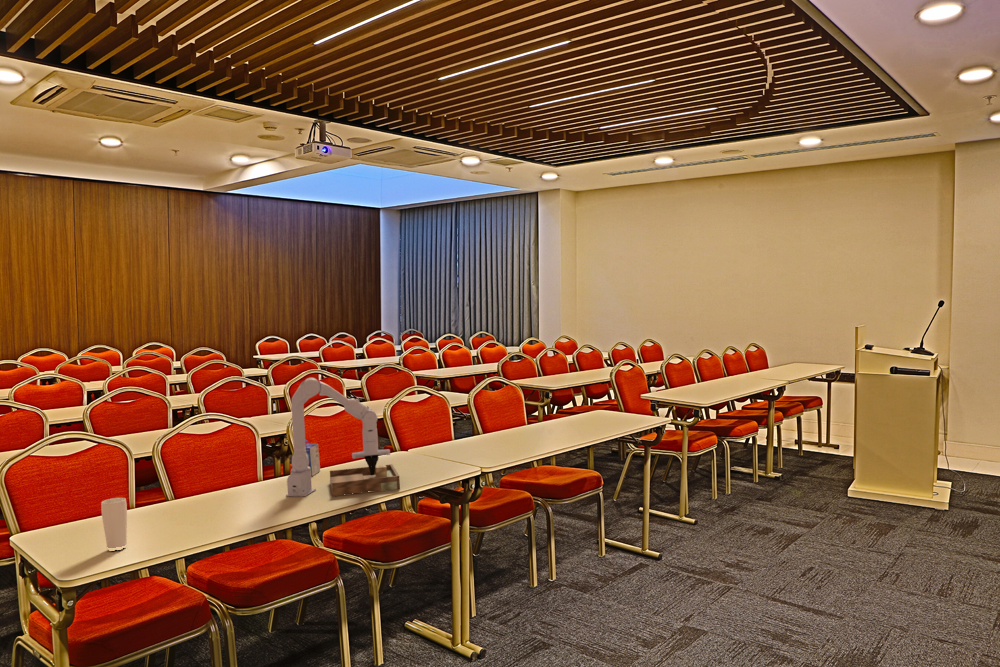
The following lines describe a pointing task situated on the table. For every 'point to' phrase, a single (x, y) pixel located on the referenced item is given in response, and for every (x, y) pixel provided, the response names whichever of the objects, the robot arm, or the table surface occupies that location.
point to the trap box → (362, 480)
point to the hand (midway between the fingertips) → (372, 474)
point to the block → (381, 471)
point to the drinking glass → (115, 521)
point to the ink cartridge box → (313, 457)
